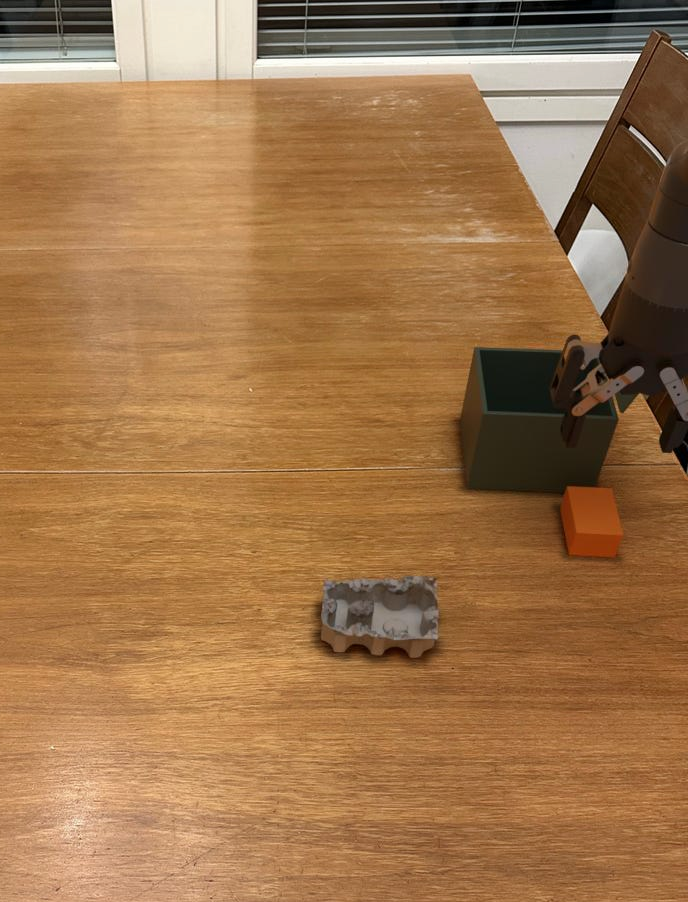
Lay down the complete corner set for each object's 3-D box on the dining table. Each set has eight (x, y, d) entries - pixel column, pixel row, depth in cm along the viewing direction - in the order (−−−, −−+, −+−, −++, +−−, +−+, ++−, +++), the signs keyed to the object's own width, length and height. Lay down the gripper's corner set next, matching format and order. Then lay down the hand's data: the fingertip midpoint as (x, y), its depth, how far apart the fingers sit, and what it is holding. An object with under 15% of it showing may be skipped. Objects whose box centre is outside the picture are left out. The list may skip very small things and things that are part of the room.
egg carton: (435, 606, 92) (442, 575, 89) (433, 666, 87) (441, 635, 84) (322, 593, 94) (325, 562, 91) (314, 652, 89) (317, 621, 86)
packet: (603, 510, 101) (611, 488, 98) (614, 557, 96) (623, 535, 94) (559, 508, 101) (566, 485, 99) (568, 555, 96) (576, 532, 94)
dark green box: (577, 425, 110) (600, 351, 103) (592, 494, 102) (619, 419, 95) (459, 420, 111) (474, 346, 104) (466, 488, 103) (483, 413, 96)
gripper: (591, 301, 76) (542, 467, 88) (782, 308, 75) (706, 475, 87) (577, 255, 81) (533, 417, 93) (756, 260, 80) (688, 424, 92)
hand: (617, 445), depth 90 cm, fingers open, 8 cm apart
